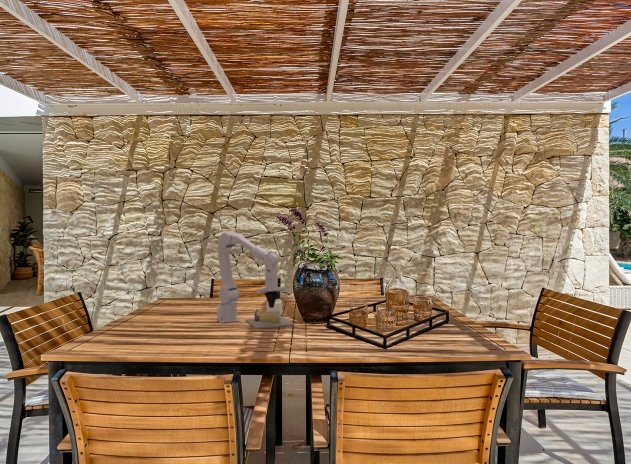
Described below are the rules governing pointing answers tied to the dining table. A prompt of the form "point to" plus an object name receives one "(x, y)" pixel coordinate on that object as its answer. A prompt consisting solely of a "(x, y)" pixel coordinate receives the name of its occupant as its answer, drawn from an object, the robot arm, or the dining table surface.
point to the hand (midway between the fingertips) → (271, 307)
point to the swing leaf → (268, 316)
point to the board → (269, 323)
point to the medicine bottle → (276, 305)
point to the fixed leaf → (267, 313)
